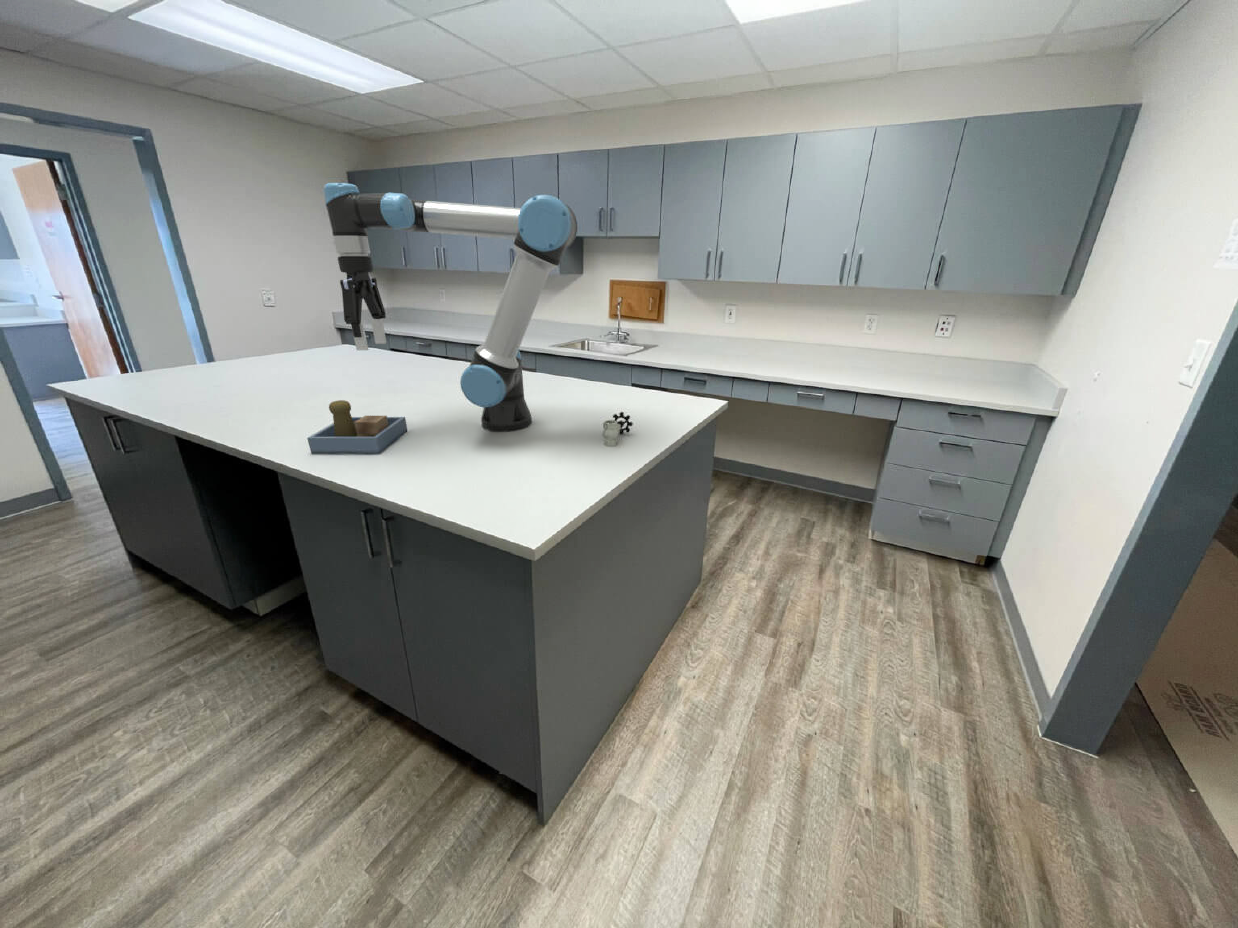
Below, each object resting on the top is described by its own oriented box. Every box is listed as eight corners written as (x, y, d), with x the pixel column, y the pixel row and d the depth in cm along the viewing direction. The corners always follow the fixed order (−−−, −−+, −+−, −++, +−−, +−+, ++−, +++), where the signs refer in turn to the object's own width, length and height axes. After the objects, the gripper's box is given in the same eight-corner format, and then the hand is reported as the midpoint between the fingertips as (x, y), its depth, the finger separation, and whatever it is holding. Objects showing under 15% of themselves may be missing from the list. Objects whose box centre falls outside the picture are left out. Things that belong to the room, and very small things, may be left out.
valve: (619, 448, 131) (632, 434, 141) (619, 425, 128) (633, 412, 139) (596, 446, 133) (611, 432, 143) (595, 423, 130) (611, 410, 141)
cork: (349, 444, 132) (340, 404, 128) (330, 442, 133) (320, 403, 129) (364, 436, 138) (356, 398, 133) (345, 435, 139) (336, 397, 134)
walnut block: (390, 435, 138) (386, 415, 136) (380, 443, 133) (376, 422, 130) (369, 435, 138) (365, 415, 136) (358, 443, 133) (354, 422, 130)
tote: (407, 431, 144) (405, 417, 142) (379, 454, 127) (376, 438, 126) (347, 431, 144) (343, 417, 142) (311, 454, 127) (307, 438, 126)
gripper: (361, 255, 131) (377, 340, 140) (312, 255, 110) (335, 354, 119) (389, 255, 131) (403, 340, 139) (345, 255, 110) (365, 354, 119)
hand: (372, 346), depth 129 cm, fingers open, 10 cm apart
